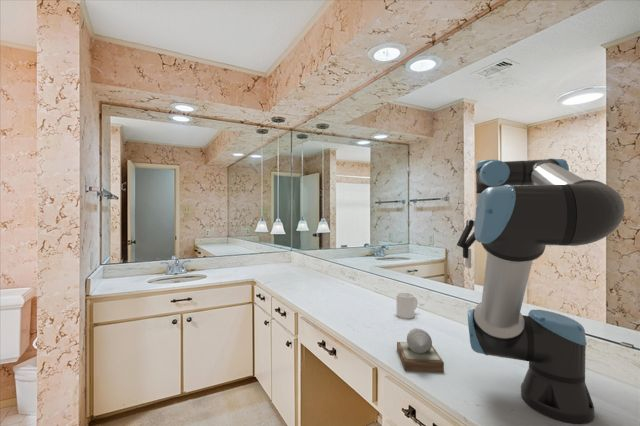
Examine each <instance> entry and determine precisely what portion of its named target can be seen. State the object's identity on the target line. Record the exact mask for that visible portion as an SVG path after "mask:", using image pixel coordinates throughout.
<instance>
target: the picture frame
mask: <svg viewBox="0 0 640 426" xmlns="http://www.w3.org/2000/svg"><path fill="white" fill-rule="evenodd" d="M396 352H397V353H398V356H399V359H400V361H401V364H402V367H403V369H404V371H408V372H431V373H432V372H433V373H436V372H437V373H444V372H445V370H444V369H445V367H444V366H445V364H444V363H445V362H444V360H443V359H442V358H441V355H439V353H438V352H437V350H436V349H435V347H434V345H432V347H431V350H427V351H426V352H425V353H421V354H419V353H415V352H414V351H412V350H411V349H410V348H409V346H408V343H407V341H396Z"/></svg>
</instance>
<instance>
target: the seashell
mask: <svg viewBox="0 0 640 426" xmlns="http://www.w3.org/2000/svg"><path fill="white" fill-rule="evenodd" d="M406 342H407V343H408V346H409V348H410V349H411V350H412V351H414V352H415V353H419V354H421V353H425V352H426V351H427V350H431V347H432V346H433V341H432V338H431V335H430V334H429V332H427V331H426V330H424V329H421V328H415V327H414V328H412V329H410V331H408V333H407V334H406Z"/></svg>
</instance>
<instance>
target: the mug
mask: <svg viewBox="0 0 640 426" xmlns="http://www.w3.org/2000/svg"><path fill="white" fill-rule="evenodd" d="M417 306H418V299H417V297H416V295H415V294H414V293H410V292H405V291H403V292H398V293H396V316H397V317H398V318H400V319H405V320H410V319H413V318H415V311H416V309H417Z"/></svg>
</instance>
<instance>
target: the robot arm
mask: <svg viewBox="0 0 640 426" xmlns="http://www.w3.org/2000/svg"><path fill="white" fill-rule="evenodd" d="M475 165H476V166H475V177H476V178H475V180H476V182H475V185H476V188H475V189H476V191H475V192H476V193H475V205H476V207H475V217H474V220H472V219H467V220H466V224H465V227H464V230H463V232H462V233H461V235H460V238H459V239H458V241H457V243H456V246H458V247H459V248H462V258H464V259H465V261H464V267H465V268H468V269H472V248H470V247H471V246H472V245H473V244H474V243H475V242H478V243H481V246H482V248H483V249H484V250H485V252H487V253H486V260H485V261H486V262H485V269H484V270H485V271H484V279H483V289H482V295H481V301H480V302H479V303H478V304H477V305H476V307H475V308H472V309H469V310H468V311H467V325H468V326H467V327H468V334H469V342H470V348H471V350H472V351H473V352H474V353H477V354H481V355H484V356H491V357H496V358H497V357H498V358H505V359H511V360H518V361H524V362H528V368H527V371H526V374H525V376H524V378H523V380H522V382H521V386H520V395H521V398H522V399H523V401H524V402H525V403H526V404H527V406H530V407H531V409H534V410H535V411H537V412H538V413H540V414H542V415H544V416H546V417H549V418H552V419H555V420H558V421H561V422H564V423H568V424H569V423H571V424H575V425H576V424H580V425H581V424H582V425H583V424H588V423H589V424H590V423H591V422H592V421H594V419H595V405H594V402H593V399H592V397H591V395H590V392H589V389H588V387H587V386H588V385H587V383H586V347H587V346H586V345H587V341H586V340H587V339H586V330H585V328H584V326H583V325H582V324H581V323H580V322H578V321H576V320H575V319H574V318H571V317H568V316H566V315H563V314H561V313H558V312H557V313H556V312H553V311H549V310H544V309H530V310H529V312H528V315H523V314H522V313H521V310H522V307H523V303H524V301H523V300H524V297H525V293H526V291H527V289H526V288H527V285H528V281H529V277H530V272H531V268H532V265H533V261H535V260H538V259H539V258H540V257H541V256H543V254H545V253H544V252H545V249H546V246H562V247H563V246H564V247H570V246H572V247H573V246H574V247H577V246H584V245H589V244H592V243H595V242H598V241H601V240H602V239H605V238H606V237H607V236H609V235H610V234H612V233H613V232H614V231H615V230H616V229H617V228H618V227H619V226H620V224H621V222H622V221H623V218H624V215H625V204H624V201H623V198H622V197H621V195H620V193H619V192H617V191H616V190H615V188H612V187H611V186H609V185H607V184H605V183H603V182H601V181H599V180H594V179H584V178H583V177H581V176H579V175H577V174H575V173H573V172H571V171H570V170H569V169H570V168H569V164H568V162H567V160H566V159H564V158H548V159H545V158H544V159H532V160H531V159H530V160H509V161H502V160H499V159H483V160H480V161H477V162H476V164H475ZM473 229H474V230H473ZM472 231H473V232H472ZM471 232H472V233H471Z"/></svg>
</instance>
